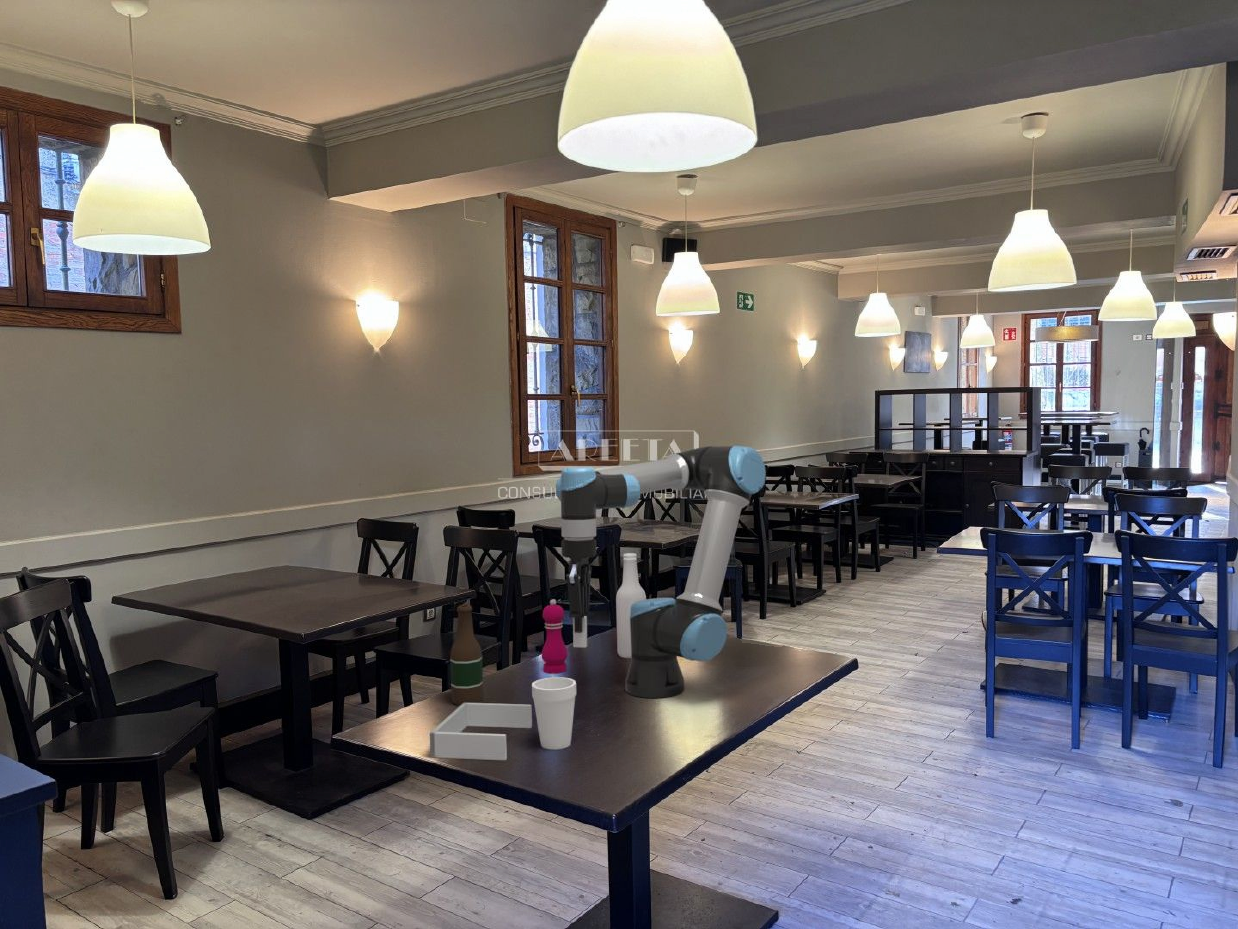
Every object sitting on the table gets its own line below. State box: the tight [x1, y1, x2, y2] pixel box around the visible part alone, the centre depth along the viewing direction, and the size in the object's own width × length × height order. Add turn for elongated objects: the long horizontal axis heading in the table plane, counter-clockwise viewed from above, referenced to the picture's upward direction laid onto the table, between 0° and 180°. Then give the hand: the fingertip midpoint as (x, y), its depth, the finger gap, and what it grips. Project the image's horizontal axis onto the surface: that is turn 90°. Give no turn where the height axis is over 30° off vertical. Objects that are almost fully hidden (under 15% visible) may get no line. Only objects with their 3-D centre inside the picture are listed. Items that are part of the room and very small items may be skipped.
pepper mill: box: [541, 598, 568, 674], centre depth 238 cm, size 7×7×20 cm
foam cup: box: [531, 676, 577, 751], centre depth 182 cm, size 10×9×13 cm
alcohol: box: [615, 552, 647, 659], centre depth 252 cm, size 9×9×30 cm
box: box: [429, 702, 533, 761], centre depth 185 cm, size 16×20×5 cm
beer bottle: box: [449, 604, 484, 707], centre depth 212 cm, size 8×8×24 cm
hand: (580, 646), depth 186 cm, fingers closed
